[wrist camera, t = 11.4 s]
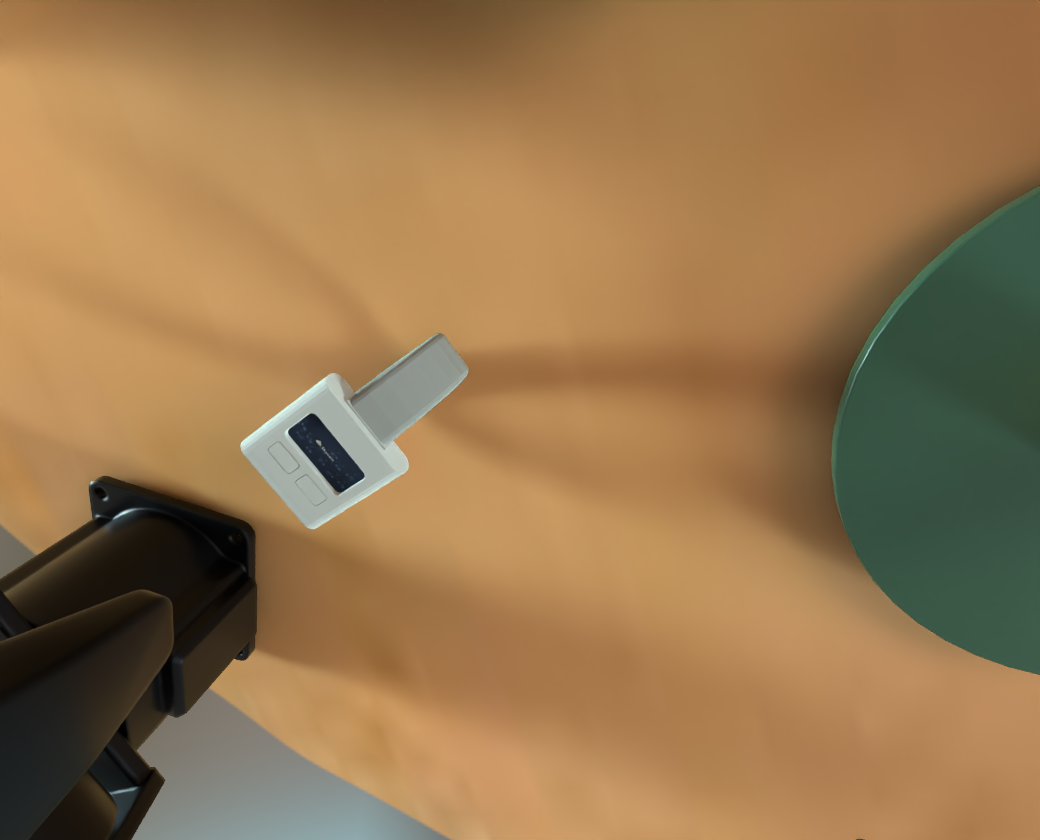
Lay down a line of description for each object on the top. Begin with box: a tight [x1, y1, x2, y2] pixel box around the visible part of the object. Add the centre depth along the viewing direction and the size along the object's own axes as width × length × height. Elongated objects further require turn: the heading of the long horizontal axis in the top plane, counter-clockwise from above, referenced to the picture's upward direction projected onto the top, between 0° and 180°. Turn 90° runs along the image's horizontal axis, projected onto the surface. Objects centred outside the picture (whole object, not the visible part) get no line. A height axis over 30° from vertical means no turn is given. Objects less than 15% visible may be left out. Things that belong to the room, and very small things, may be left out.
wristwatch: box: [241, 333, 469, 529], centre depth 17 cm, size 6×3×5 cm, turn 127°
